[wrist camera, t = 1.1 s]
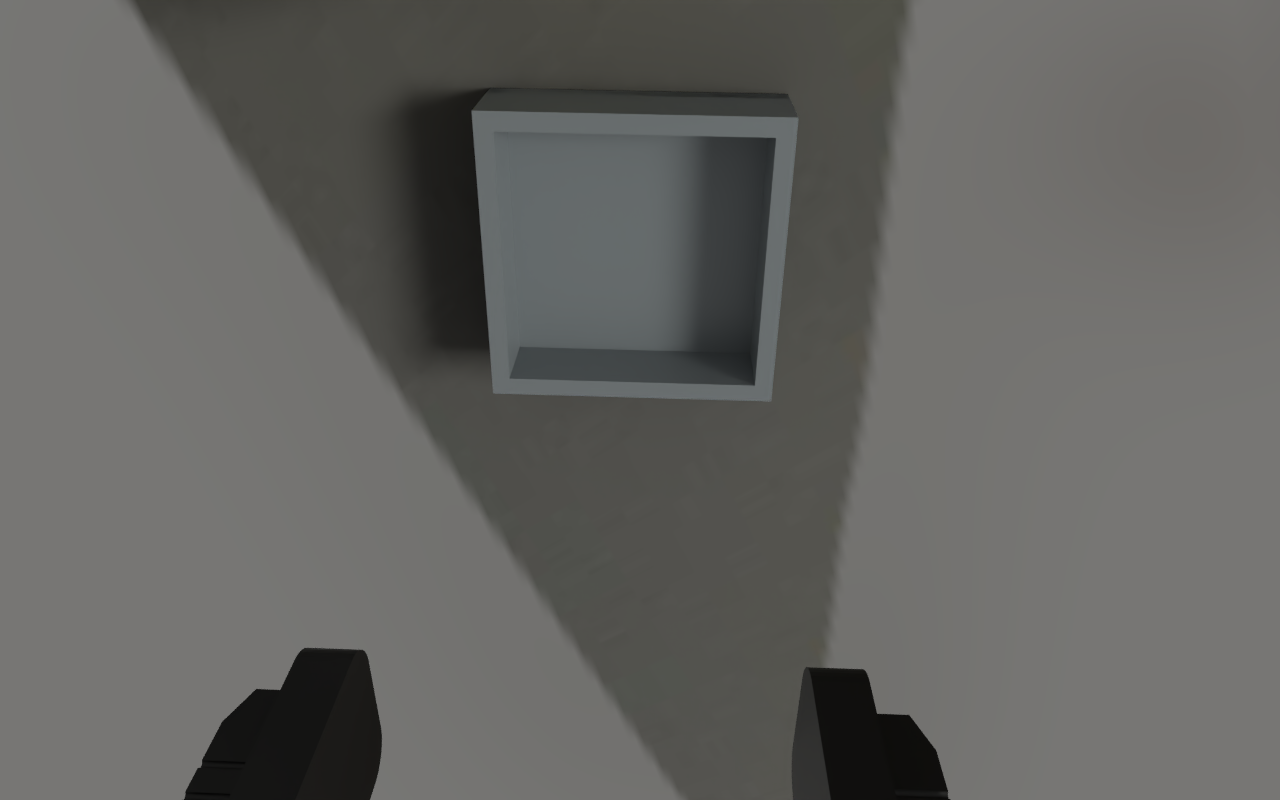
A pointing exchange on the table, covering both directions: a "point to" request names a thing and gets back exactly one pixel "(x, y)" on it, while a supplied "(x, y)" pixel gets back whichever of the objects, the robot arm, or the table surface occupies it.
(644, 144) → the tray
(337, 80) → the table surface
